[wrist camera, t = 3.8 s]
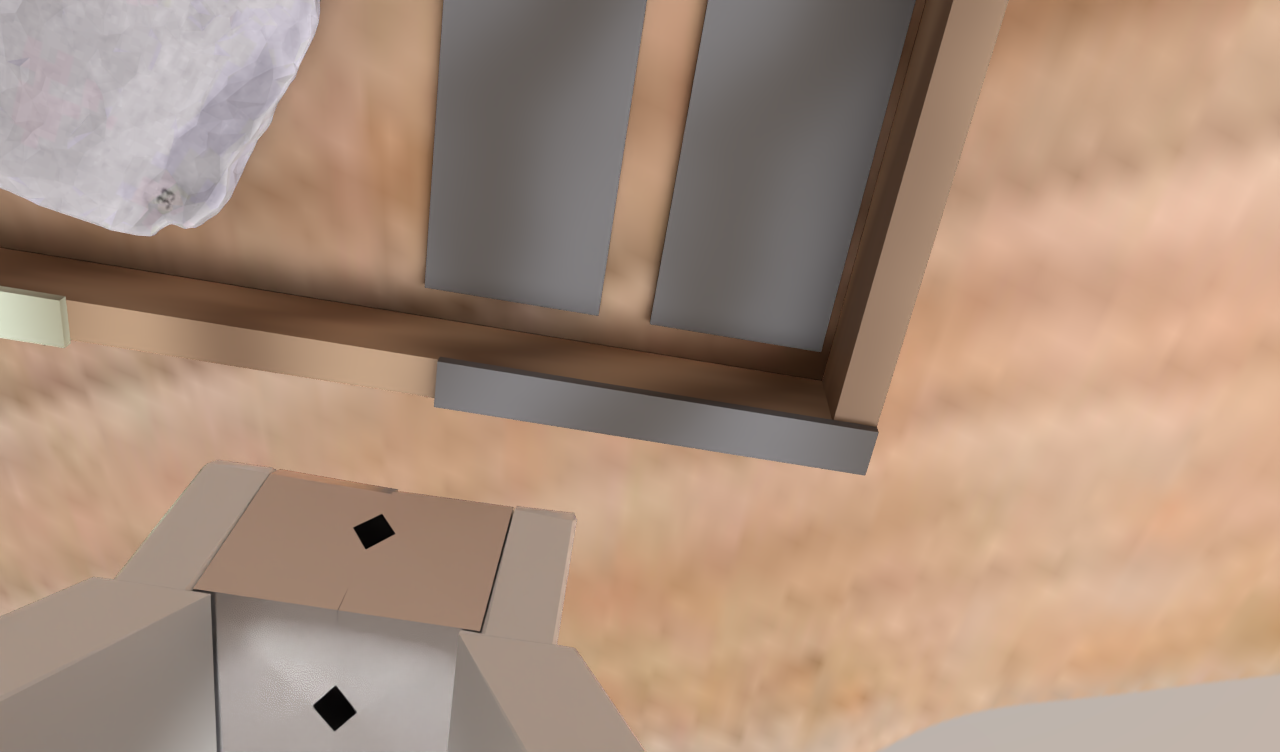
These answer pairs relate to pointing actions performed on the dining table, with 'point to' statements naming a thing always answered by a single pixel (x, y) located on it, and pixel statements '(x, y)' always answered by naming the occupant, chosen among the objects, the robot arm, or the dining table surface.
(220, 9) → the stone block
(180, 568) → the robot arm
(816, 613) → the dining table surface
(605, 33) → the box
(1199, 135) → the dining table surface
